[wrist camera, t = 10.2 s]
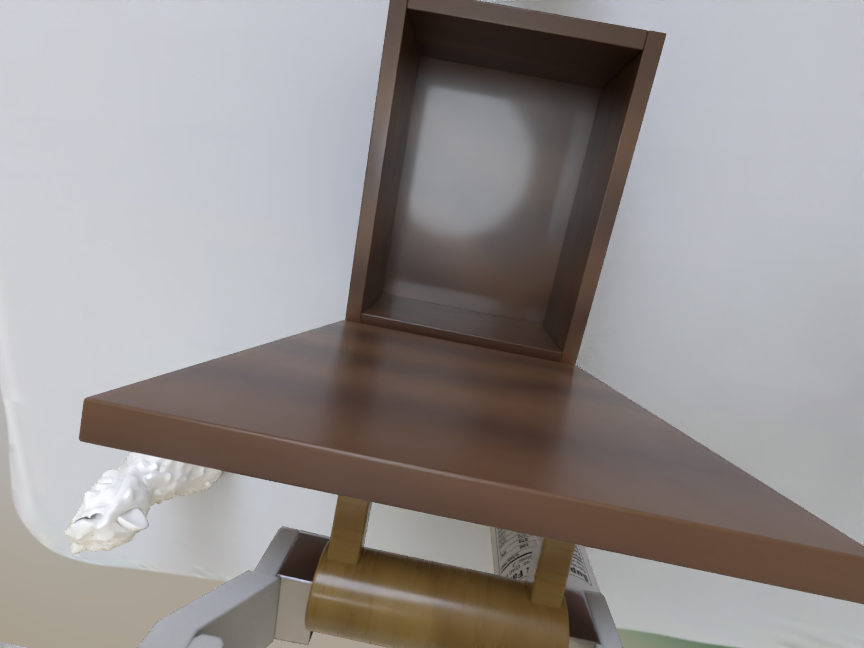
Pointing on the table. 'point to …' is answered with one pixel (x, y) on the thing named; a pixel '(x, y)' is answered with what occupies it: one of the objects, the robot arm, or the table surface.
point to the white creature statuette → (131, 499)
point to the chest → (496, 172)
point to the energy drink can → (516, 555)
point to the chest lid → (468, 478)
